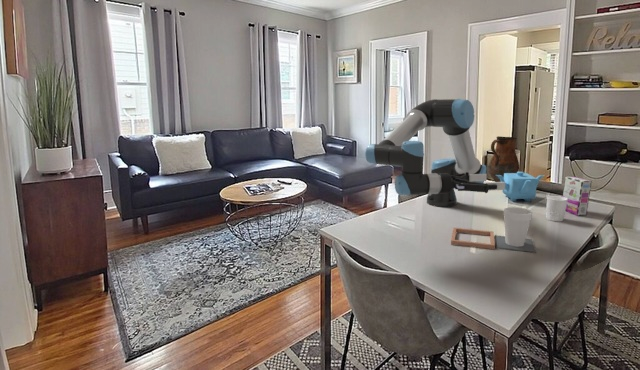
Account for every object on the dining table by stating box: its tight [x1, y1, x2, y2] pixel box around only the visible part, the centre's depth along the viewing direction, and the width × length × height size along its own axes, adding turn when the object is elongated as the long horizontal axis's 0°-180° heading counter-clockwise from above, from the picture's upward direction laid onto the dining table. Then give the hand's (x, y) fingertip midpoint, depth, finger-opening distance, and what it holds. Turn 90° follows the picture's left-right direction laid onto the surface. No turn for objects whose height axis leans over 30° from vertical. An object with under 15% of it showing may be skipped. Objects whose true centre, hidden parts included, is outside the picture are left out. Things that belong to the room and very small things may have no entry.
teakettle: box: [496, 171, 546, 202], centre depth 205 cm, size 19×19×15 cm
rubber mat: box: [494, 234, 537, 254], centre depth 147 cm, size 13×13×1 cm
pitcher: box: [487, 136, 520, 182], centre depth 229 cm, size 17×21×30 cm
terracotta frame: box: [450, 227, 496, 250], centre depth 153 cm, size 15×15×2 cm
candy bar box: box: [562, 175, 592, 217], centre depth 180 cm, size 11×5×16 cm, turn 5°
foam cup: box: [503, 206, 533, 247], centre depth 145 cm, size 10×9×13 cm
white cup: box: [545, 195, 568, 222], centre depth 172 cm, size 8×8×10 cm
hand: (495, 181), depth 141 cm, fingers open, 13 cm apart
